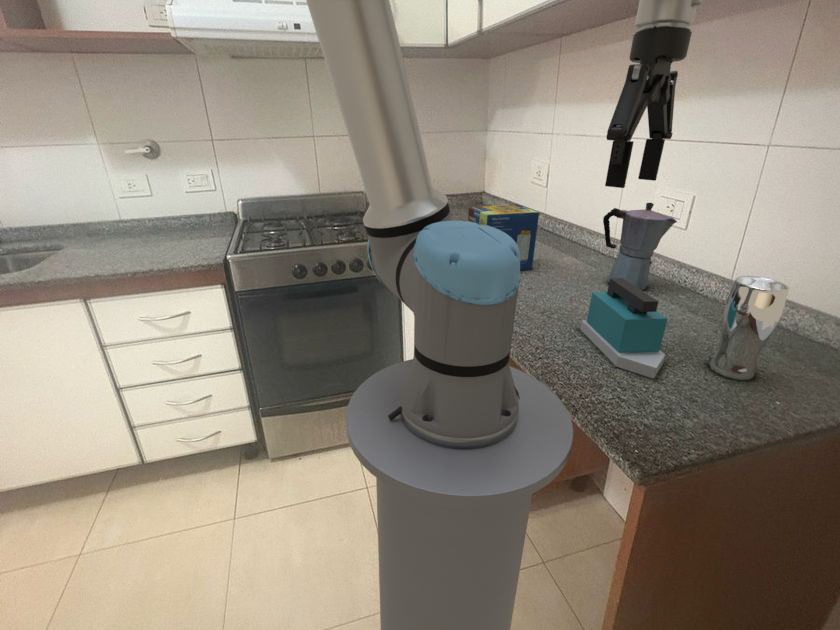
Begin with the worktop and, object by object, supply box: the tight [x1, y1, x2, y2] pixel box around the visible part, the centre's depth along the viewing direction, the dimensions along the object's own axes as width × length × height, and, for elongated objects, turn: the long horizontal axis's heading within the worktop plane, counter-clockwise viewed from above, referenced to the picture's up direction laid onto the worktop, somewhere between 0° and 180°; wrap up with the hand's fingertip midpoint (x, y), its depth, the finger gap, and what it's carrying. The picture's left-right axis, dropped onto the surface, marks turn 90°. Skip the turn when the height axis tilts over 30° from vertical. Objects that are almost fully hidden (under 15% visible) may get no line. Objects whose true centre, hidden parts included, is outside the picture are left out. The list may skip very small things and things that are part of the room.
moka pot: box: [602, 202, 678, 291], centre depth 104 cm, size 10×15×20 cm, turn 74°
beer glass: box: [709, 275, 790, 381], centre depth 68 cm, size 7×7×15 cm
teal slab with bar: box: [579, 278, 669, 380], centre depth 74 cm, size 18×8×11 cm, turn 5°
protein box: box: [467, 204, 540, 272], centre depth 117 cm, size 10×15×16 cm
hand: (631, 183), depth 72 cm, fingers open, 13 cm apart
